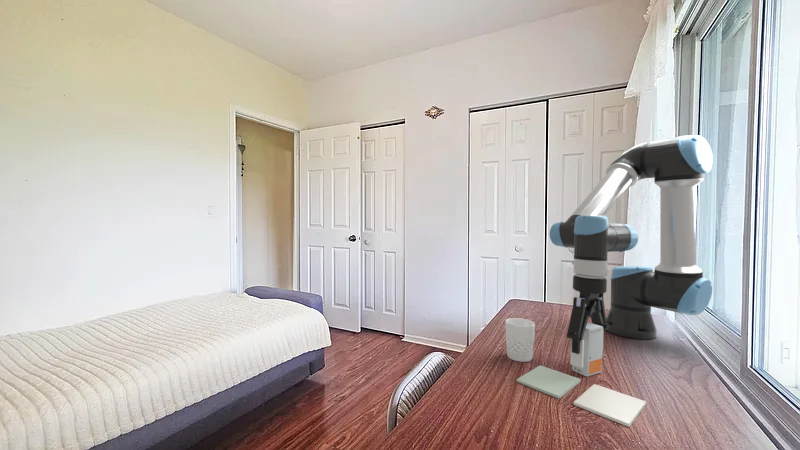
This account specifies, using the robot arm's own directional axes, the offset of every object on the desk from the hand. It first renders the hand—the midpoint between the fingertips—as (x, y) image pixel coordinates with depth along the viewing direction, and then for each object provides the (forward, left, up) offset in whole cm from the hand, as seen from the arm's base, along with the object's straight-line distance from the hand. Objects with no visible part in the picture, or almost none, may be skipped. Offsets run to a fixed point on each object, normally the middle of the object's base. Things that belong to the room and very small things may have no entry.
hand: (587, 358), depth 87 cm
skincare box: (0, 0, -4) cm, 4 cm away
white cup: (+5, -16, -4) cm, 17 cm away
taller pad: (+13, +9, -3) cm, 16 cm away
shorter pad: (+13, -4, -3) cm, 14 cm away
